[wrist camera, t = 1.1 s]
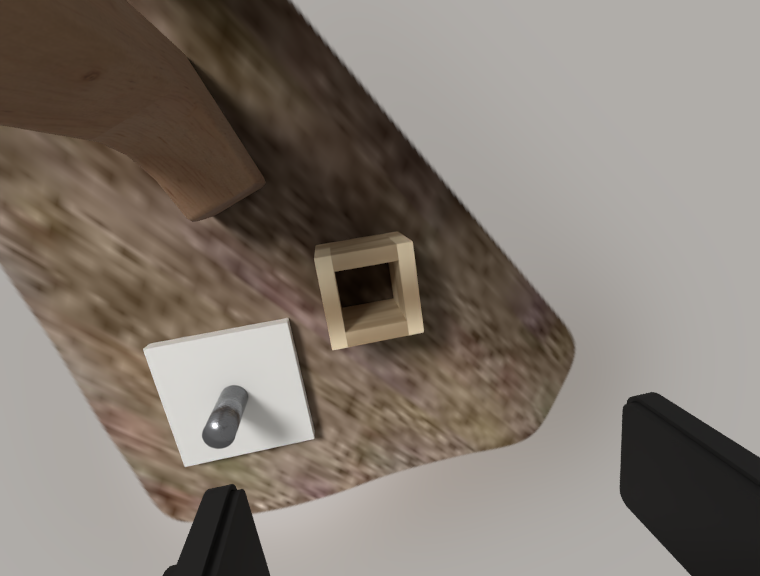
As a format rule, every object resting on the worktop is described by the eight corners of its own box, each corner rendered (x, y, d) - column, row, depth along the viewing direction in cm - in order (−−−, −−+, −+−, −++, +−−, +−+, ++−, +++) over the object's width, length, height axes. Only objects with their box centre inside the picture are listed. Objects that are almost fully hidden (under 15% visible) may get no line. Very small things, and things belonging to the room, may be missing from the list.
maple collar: (315, 245, 28) (314, 258, 23) (397, 231, 28) (412, 241, 23) (331, 322, 29) (332, 350, 24) (407, 308, 30) (424, 332, 25)
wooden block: (268, 183, 26) (162, 189, 9) (211, 217, 26) (-4, 289, 9) (183, 49, 23) (-209, -315, 6) (119, 88, 23) (-443, -167, 6)
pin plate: (149, 343, 28) (108, 381, 22) (288, 317, 29) (280, 348, 23) (189, 457, 31) (161, 515, 25) (314, 431, 32) (312, 481, 26)
